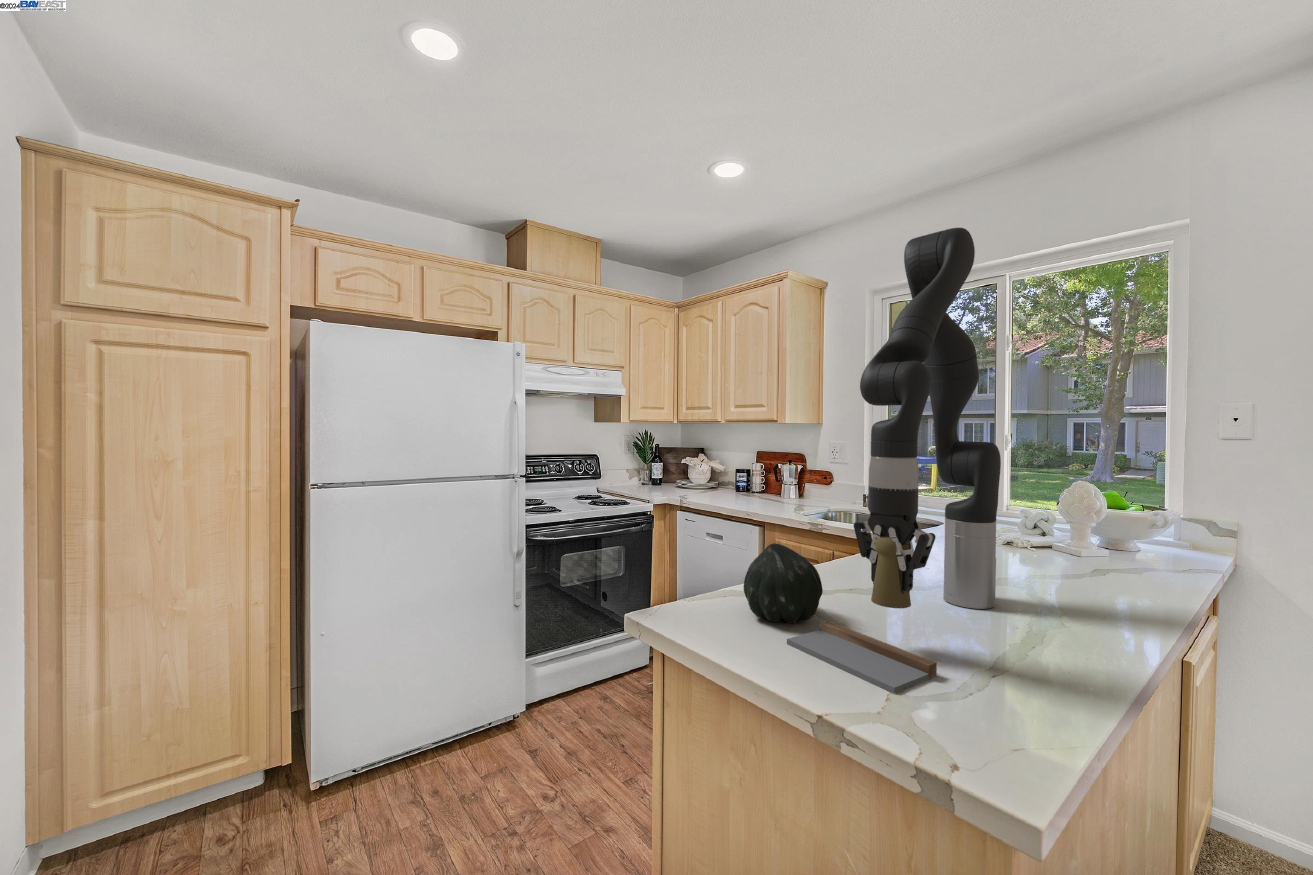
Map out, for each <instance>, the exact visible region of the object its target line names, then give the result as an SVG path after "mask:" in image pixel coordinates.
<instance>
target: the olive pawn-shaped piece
mask: <svg viewBox="0 0 1313 875" xmlns="http://www.w3.org/2000/svg"><path fill="white" fill-rule="evenodd" d="M895 543H896V542H895ZM895 543H894V541H893V540H891V538H890V537H888V536H882V537H880V538H878V539H877V540H876V542H875V549H876V552H877V553H878V560H877V567H876V573H875V579H874V585H873V586H872V592H871V593H872V594H871V599H870V600H871V602H872V603H873V604H874V605H877V606H881V607H883V608H884V607H885V608H889V609H907V608H910V607H911V606H912V603H911V601H912V600H911V594H910V592H909V593H908V591H904V594H902V593H901V588H900V579H899V570H900V568H899V564H898V559H897V557H898V556H897V555H896V552H897V547H896V544H895ZM901 547H902V549H903V550H908V549H909V544H908V545H901Z"/></svg>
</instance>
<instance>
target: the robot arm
mask: <svg viewBox="0 0 1313 875" xmlns="http://www.w3.org/2000/svg"><path fill="white" fill-rule="evenodd" d="M975 251H976V250H975V243H974V239H973V237H972V235H971V233H970V231H968V229H966V228H964V227H952V228H948V229H944V230H939V231H935V232H932V233H928V234H925V235H920V236H917V237H914V238H912V239H909V240H908V242H907V243H906V244H905V247H904V252H903V260H904V261H903V264H904V270H905V275H906V279H907V284H908V288H909V292H910V295H911V300H910V301H909V302H907V304H906V305H905V306H904V308H902V309H901V311H900V312H899V314H898V315H897V317H896V319H895V321H894V324H893V326H892V328H891V330H890V332H889V335H888V338H887V341H886V342H885V343H884V344H883V345H882V346H881V348H880V349H879V350H878V351H877V352H876V354H875V355H873V357H872V358H871V360H870V361H869V362H868V363H867V365H866V367H865V368H864V370H863V372H862V373H861V377H860V381H859V390H860V394H861V396H862V398H863V399H864V401H865V402H866V403H867V404H869V405H872V406H877V407H878V406H879V407H883V406H888V407H889V406H900V409H899V411H898V412H897V414H896V415H895V416H894V417H892V418H889V419H883V420H879V421H876V422H874V423H872V426H871V428H870V429H871V431H870V460H869V465H868V485H867V486H868V489H867V490H868V491H867V494H868V495H867V498H868V499H867V500H868V501H867V503H868V504H867V510H868V511H869V517H868V519H867V520H864V521H856V522H854V523H853V530H854V534H855V538H856V542H857V545H858V549H859V553H860V556H861V558H866V559H868V560H869V562H870V564H871V566H870V567H871V568H870V571H871V573H870V579H871V582H872V584H873V585H874V579H875V573H876V567H877V560H878V553H877V552H876V549H875V542H876V540H877V539H878V538H880V537H882V536H888V537H890V538H891V540H893V541H894V543H895V542H896V543H895V544H896V547H897V552H896V555H897V556H898V557H897V559H898V564H899V568H900V570H899V579H900V588H901V593H902V594H904V591H908V593H909V592H910V591H912V590H913V588H914V571H915V570H917V569H918V570H919V569H922V568H925V567H926V565H927V564H928V560H929V557H930V554H931V551H932V549H933V546H934V543H935V540H936V535H935V533H934V532H929V533H928V532H926V531H924V530H922V529H921V528H920V526H919V524H918V521H917V516H918V513H919V484H920V483H919V482H920V480H919V479H920V478H919V477H920V476H919V474H920V473H919V472H920V471H919V470H920V469H919V464H918V444H919V442H918V440H919V439H918V438H919V429H920V425H921V421H922V418H923V417H922V416H923V414H924V410H925V409H926V408H925V407H926V404H927V402H928V399H929V398H930V400H929V401H930V406H931V412H932V418H933V419H932V420H933V432H934V447H935V449H934V450H935V462H936V468H937V472H938V475H939V478H940V479H941V481H942V482H943V483H945V484H947V485H952V486H953V485H954V486H964V487H974V488H973V492H972V495H971V496H969V497H967V498H965V499H962V500H958V501H952V502H949V503H946V505H945V508H944V548H943V549H944V550H943V551H944V555H943V556H944V557H943V558H944V559H943V560H944V561H943V595H942V596H943V597H942V598H943V600H944V601H945V602H946V603H949V604H951V605H954V606H957V607H963V608H969V609H977V610H983V609H984V610H985V609H986V610H987V609H991V608H994V607H995V603H996V590H997V589H996V588H997V586H996V585H997V584H996V583H997V580H996V578H997V577H996V576H997V557H996V555H997V554H996V553H997V550H996V548H997V513H998V506H999V492H1000V491H999V490H1000V489H999V487H1000V476H1001V469H1002V468H1001V464H1002V463H1001V462H1002V461H1001V459H1002V458H1001V453H1000V450H999V448H998V445H997V444H995V443H993V442H990V441H973V440H972V441H971V440H969V441H968V440H967V441H966V440H965V441H964V440H961V441H960V439H959V435H958V424H959V420H960V417H961V415H962V413H963V411H964V409H965V408H966V405H967V404H968V403H969V401H970V399H971V397H972V396H973V394H974V392H975V390H976V388H977V386H978V383H979V380H980V372H979V364H978V357H977V350H976V346H975V344H974V342H973V340H972V339H971V338H970V336H969V335H968V333H966V332H965V331H964V329H962V327H961V326H960V325H959V324H958V323H956V322H955V320H954V319H952V317H951V316H950V315H949V314H948V312H947V311H948V310H949V308H950V307H951V305H952V303H953V302H954V300H955V299H956V297H957V296H958V294H959V292H960V290H961V289H962V288H963V286H964V284H965V282H966V280H967V279H968V277H969V275H970V273H971V271H972V269H973V267H974V263H975V262H974V261H975V255H976V252H975ZM872 535H873V537H872ZM914 538H915V540H914V543H915V547H914V545H913V539H914ZM908 544H909V549H908V550H903V549H902V547H901V545H908Z"/></svg>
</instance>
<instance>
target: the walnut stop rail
mask: <svg viewBox="0 0 1313 875" xmlns="http://www.w3.org/2000/svg"><path fill="white" fill-rule="evenodd" d="M819 630H822V631H824V632H827V633H829V634H832V635H834V636H837V637H839V638H842V639H844V640H846V641H849V642H851V643H854V644H856V645H859V646H861V647H864V648H866V649H869V650H871V651H873V652H876V653H878V654H881V655H883V656H886V657H888V658H891V659H893V660H896V661H898V662H900V663H903V664H905V665H908V666H910V667H913V668H915V669H918V670H920V671H922V672H925V673H927V674H929V677H928V680H931V679H933V678H936V677H937V667H938V666H937V663H938V662H937V661H933V660H931V659H928V658H926V657H923V656H921V655H918V654H915V653H913V652H911V651H907V650H906V649H902V648H900V647H897V646H894V645H893V644H889V643H887V642H884V641H882V640H879V639H876V638H874V637H871V636H869V635H866V634H863V633H860V632H858V631H856V630H852V629H851V628H848V627H845V626H843V625H841V624H837V623H835V622H832V621H829V620H826V621H822V622H819Z"/></svg>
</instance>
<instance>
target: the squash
mask: <svg viewBox="0 0 1313 875" xmlns="http://www.w3.org/2000/svg"><path fill="white" fill-rule="evenodd" d="M743 592H744V593H743V594H744V595H745V596H744V597H745V598H746V600H747V603H748V606H749V609H750V611H751V612H752V613H753V614H754V615H755V616H757V617H759V618H763V619H767V621H770V622H773V623H774V622H775V623H777V622H779V621H781V619H783V620H784V622H786V623H789V624H794V623H796V622H797V621H800V622H802V621H803V622H804V621H808V620H810V619H811V618H813V616H815V613H816V612H817V610H818V608H819V604H820V600H821V597H822V595H823V593H824V592H823V585H822V581H821V576H820V574H819V572H818V570H817V569H816V567H815V566H814V565H813V564H812V563H811V561H809V560H808V559H806V557H804V556H803V555H801V554H799V553H798V552H797V551H795V550H794V549H791V548H790V547H788V546H785V545H783V544H780V543H775V542H774V543H773V542H772V543H770V544H768V545H767V546H766V547H765V548H764V549H763V550H762V552H760V553H759V554H758V556H757V557H756V558H754V560H752V562H751V563H750V564H749V566H748V568H747V571H746V573H745V576H744V581H743Z"/></svg>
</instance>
